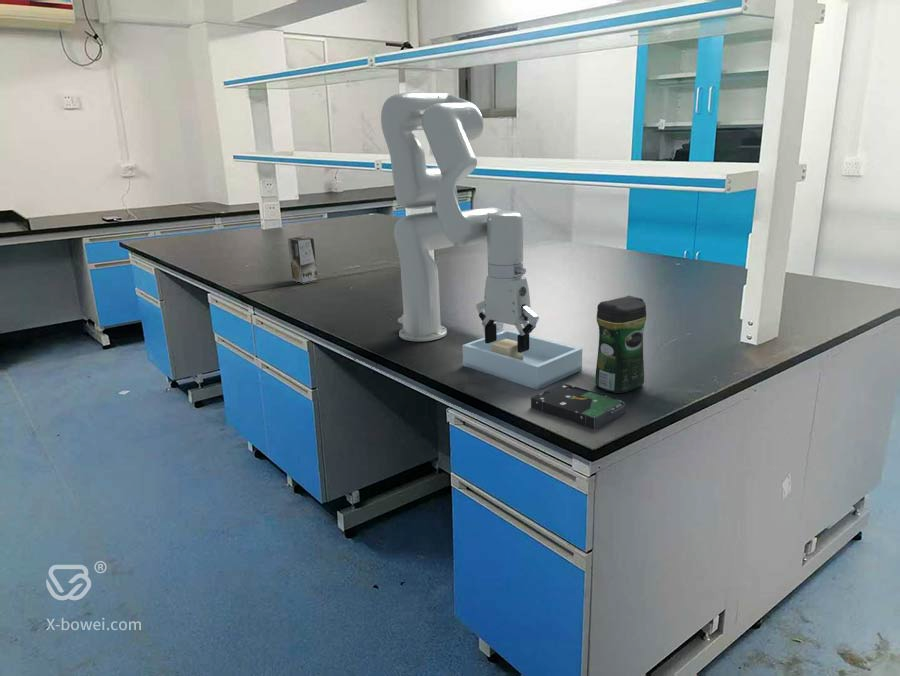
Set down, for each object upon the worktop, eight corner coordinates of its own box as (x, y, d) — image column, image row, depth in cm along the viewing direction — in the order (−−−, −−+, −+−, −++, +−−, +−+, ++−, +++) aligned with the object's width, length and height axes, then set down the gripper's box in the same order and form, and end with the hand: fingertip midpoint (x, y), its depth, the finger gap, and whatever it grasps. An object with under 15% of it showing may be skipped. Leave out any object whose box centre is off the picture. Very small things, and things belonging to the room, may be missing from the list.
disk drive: (529, 411, 126) (595, 432, 116) (529, 397, 125) (595, 417, 115) (561, 395, 133) (626, 413, 123) (561, 382, 132) (627, 399, 122)
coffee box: (318, 282, 240) (314, 238, 235) (302, 285, 237) (297, 240, 232) (308, 278, 247) (303, 235, 242) (292, 281, 244) (287, 237, 239)
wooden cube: (506, 359, 149) (506, 338, 148) (523, 364, 146) (522, 343, 144) (491, 365, 146) (490, 344, 145) (508, 370, 143) (507, 348, 141)
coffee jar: (621, 375, 140) (625, 290, 134) (650, 386, 133) (655, 298, 128) (587, 385, 135) (589, 298, 130) (615, 397, 129) (618, 306, 123)
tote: (463, 365, 150) (462, 345, 148) (507, 349, 159) (507, 329, 158) (537, 390, 134) (537, 367, 133) (581, 370, 144) (582, 348, 142)
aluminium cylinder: (479, 345, 163) (478, 318, 161) (493, 340, 166) (492, 313, 164) (494, 349, 160) (493, 321, 158) (508, 344, 163) (507, 317, 161)
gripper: (548, 272, 136) (548, 350, 141) (488, 262, 148) (490, 335, 153) (524, 279, 131) (525, 359, 136) (464, 268, 143) (467, 342, 149)
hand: (506, 346), depth 145 cm, fingers open, 9 cm apart
